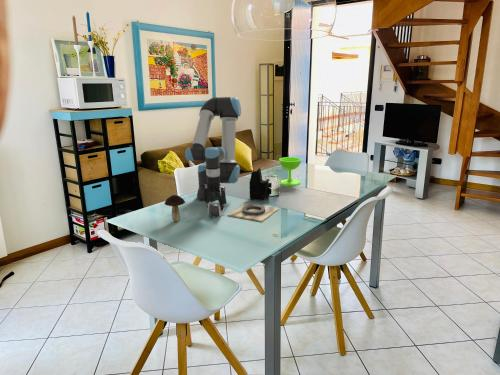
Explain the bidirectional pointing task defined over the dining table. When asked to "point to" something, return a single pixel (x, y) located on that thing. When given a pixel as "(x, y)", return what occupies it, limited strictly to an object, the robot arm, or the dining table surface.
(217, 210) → the cap
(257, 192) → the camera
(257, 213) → the mount
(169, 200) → the decorative mushroom
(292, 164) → the wineglass
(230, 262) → the dining table surface
